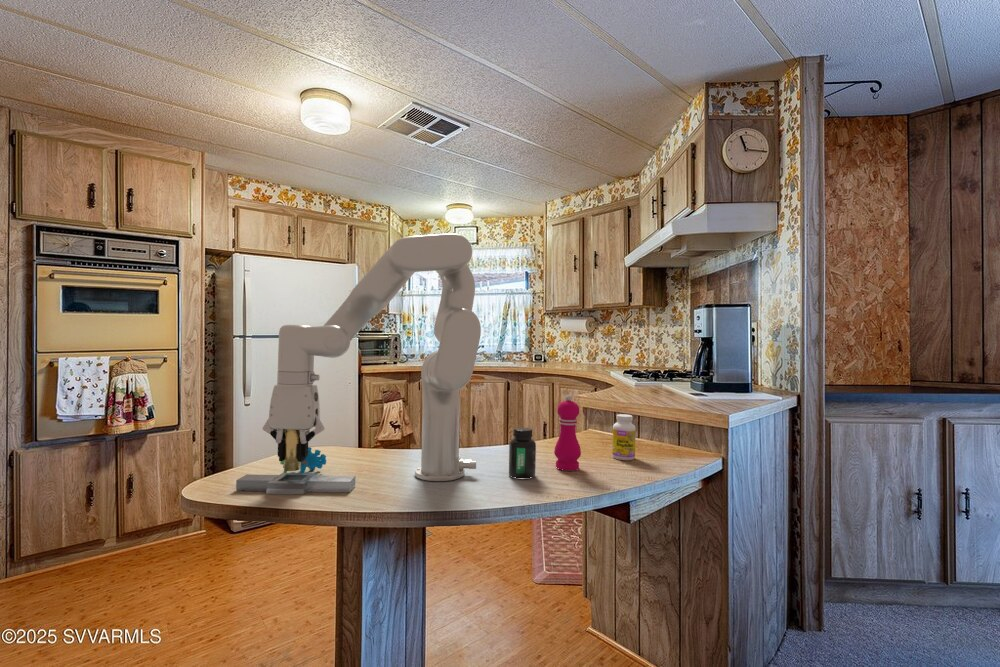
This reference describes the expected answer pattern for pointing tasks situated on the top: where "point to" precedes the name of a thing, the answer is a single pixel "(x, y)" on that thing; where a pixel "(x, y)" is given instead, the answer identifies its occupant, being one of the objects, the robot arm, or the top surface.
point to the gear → (311, 461)
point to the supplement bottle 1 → (522, 454)
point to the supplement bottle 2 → (624, 438)
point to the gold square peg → (291, 450)
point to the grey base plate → (295, 483)
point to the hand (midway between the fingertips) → (292, 459)
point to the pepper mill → (567, 436)
